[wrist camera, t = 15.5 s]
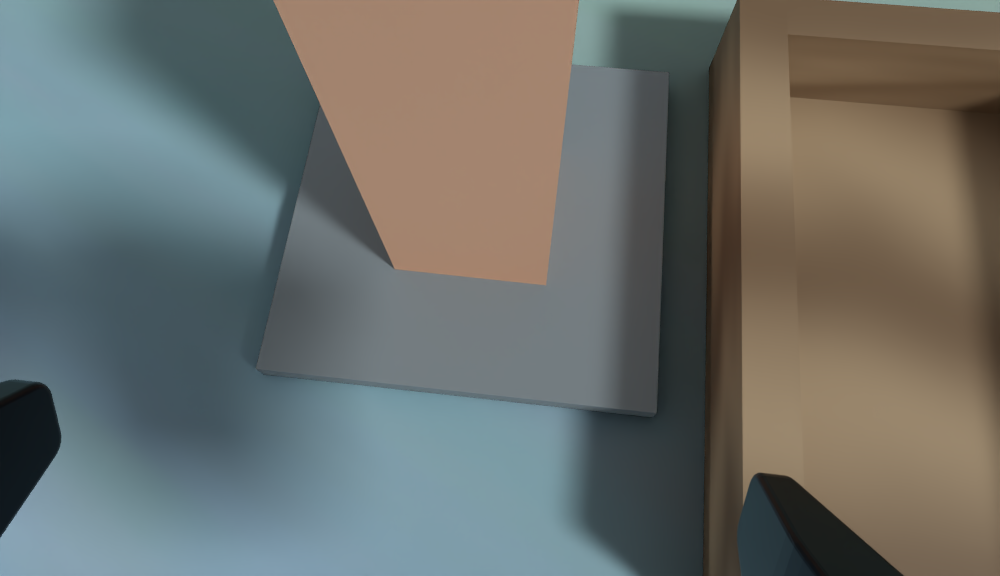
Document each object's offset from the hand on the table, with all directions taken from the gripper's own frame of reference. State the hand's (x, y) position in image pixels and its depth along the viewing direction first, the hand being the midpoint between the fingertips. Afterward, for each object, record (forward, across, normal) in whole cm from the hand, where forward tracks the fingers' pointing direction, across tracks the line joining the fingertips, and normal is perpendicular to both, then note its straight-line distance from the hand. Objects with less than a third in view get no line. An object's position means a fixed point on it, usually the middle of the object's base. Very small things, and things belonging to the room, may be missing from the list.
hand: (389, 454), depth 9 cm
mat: (+11, 0, +1) cm, 11 cm away
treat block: (+11, 0, 0) cm, 11 cm away
